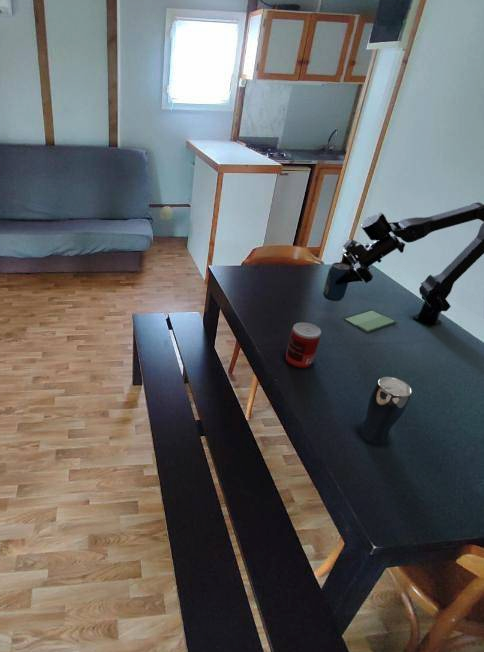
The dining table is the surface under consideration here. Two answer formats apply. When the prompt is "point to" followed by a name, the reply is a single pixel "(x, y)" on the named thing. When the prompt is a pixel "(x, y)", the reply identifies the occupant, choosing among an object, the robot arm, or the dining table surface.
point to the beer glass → (384, 409)
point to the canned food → (303, 345)
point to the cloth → (370, 321)
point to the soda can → (331, 288)
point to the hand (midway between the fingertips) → (333, 278)
